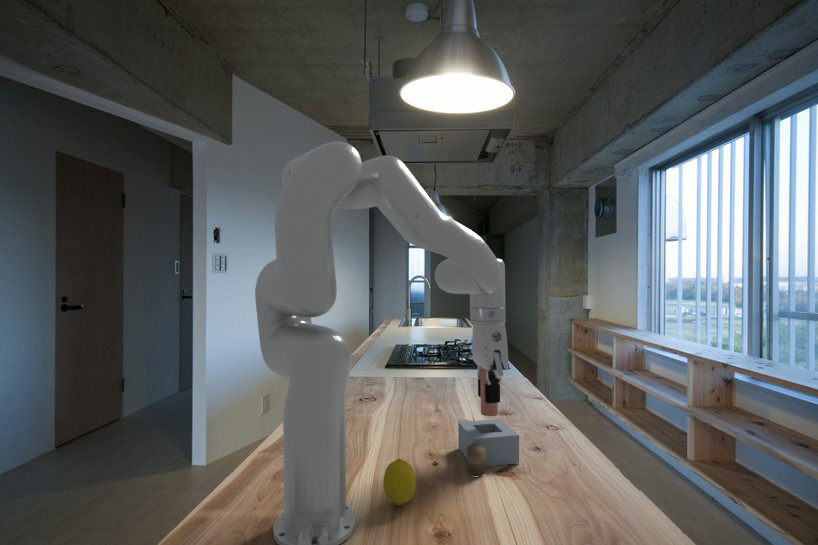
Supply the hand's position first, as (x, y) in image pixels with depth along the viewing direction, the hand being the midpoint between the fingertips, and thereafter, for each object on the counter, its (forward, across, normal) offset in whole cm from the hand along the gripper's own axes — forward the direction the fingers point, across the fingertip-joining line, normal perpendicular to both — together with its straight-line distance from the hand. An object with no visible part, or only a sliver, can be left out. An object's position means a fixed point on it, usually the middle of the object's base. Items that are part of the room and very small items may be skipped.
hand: (488, 398), depth 95 cm
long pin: (+3, 0, 0) cm, 3 cm away
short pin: (+12, -7, +6) cm, 15 cm away
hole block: (+12, 0, +1) cm, 12 cm away
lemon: (+12, -16, +23) cm, 30 cm away
